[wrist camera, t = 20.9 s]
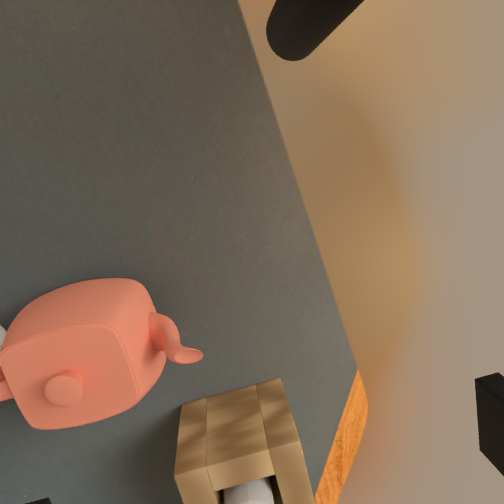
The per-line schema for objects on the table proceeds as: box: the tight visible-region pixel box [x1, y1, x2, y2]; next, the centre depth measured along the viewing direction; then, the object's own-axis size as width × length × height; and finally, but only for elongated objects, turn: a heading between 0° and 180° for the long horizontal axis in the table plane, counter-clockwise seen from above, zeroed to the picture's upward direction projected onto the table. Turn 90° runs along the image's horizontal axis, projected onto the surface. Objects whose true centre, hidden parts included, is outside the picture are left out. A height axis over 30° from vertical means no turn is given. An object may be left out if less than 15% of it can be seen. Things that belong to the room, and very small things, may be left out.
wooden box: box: [174, 378, 315, 504], centre depth 40 cm, size 12×12×10 cm
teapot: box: [0, 278, 203, 430], centre depth 34 cm, size 20×12×12 cm, turn 102°
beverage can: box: [223, 476, 274, 504], centre depth 39 cm, size 5×5×12 cm
